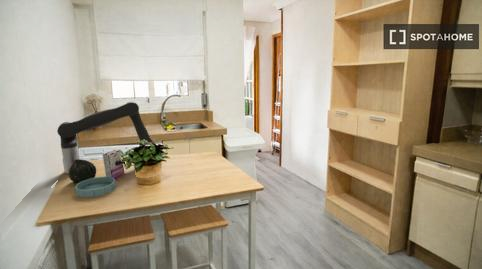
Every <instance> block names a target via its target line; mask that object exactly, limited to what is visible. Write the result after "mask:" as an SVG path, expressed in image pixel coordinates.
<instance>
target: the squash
mask: <svg viewBox="0 0 482 269" xmlns="http://www.w3.org/2000/svg"><path fill="white" fill-rule="evenodd" d="M96 175H97V168H96V166H95V165H94V163H92V162H90V161H88V160H86V159H80V158H79V159H77V160H75V161H74V163H73V164H72V166H71V167H70V169H69V174H68V177H69V180H71V182H73V183H75V184H78V183H79V182H82V181H84V180H87V179H91V178H95V177H96Z"/></svg>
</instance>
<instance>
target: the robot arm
mask: <svg viewBox="0 0 482 269" xmlns="http://www.w3.org/2000/svg"><path fill="white" fill-rule="evenodd" d="M139 111H140V107H139V105H138V104H137V102H135V101H128V102H126V103H125V104H123V105H120V106H118V107H114V108H110V109H104V110H101V111H98V112H94V113H92V114H89V115H87V116H85V117H83V118H81V119H79V120H76V121H72V122H69V121H64V122H62V123H60V124H59V126H58V128H57V132H56V133H57V134H58V136H59V137H60V147H61V152H62V153H61V155H62V163H63V169H64V173H65V174H66V175H69V169H70V167H71V166H72V164H73V163H74V161H75V160H77V159H80V153H79V148H78V137H77V134H80V133H82V132H85V131H89V130H92V129H94V128H100V127H103V126H106V125H108V124H111V123H113V122H115V121H116V120H120V119H123V118H125V117H129V118H130V120H131V122H132V123H133V127H134V129H135V131H136V135H137V137H138V139H139V142H141V140H143V139H145V140H147V141H148V142H153V143H155V142H154V140H153V139H152V138H151V137H150V133H149V132H148V130H147V128H146V126H145V124H144V122H143V120H142V117H141V116H140V112H139ZM125 153H126V152H124V153H123V155H124V154H125ZM120 164H123V165H126V164H125V162H121V161H118V162H115V165H116V166H118V165H120Z"/></svg>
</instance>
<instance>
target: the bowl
mask: <svg viewBox="0 0 482 269" xmlns="http://www.w3.org/2000/svg"><path fill="white" fill-rule="evenodd" d="M115 189H117V181H116V179H114V178H113V177H106V176H97V177H96V176H95V177H94V178H91V179H87V180H84V181H82V182H79V183H76V185H74V190H75V194H77V195H76V197H78V198H82V199H84V198H85V199H87V198H88V199H89V198H98V197H101V196H105V195H108V194H110V193H111V192H114V191H115Z"/></svg>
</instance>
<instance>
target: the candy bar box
mask: <svg viewBox="0 0 482 269" xmlns="http://www.w3.org/2000/svg"><path fill="white" fill-rule="evenodd" d="M120 153H122V149H112V150H110V151H109V152H108V151H107V152H105V153H102V159H103V165H104V172H105V177H113V178H114V179H115V180H116V179H118V178H120V177H121V176H123V175H125V167H124V164H120V165H118V166H116V165H115V162H118V161H121V160H120V159H118V158H120Z"/></svg>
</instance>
